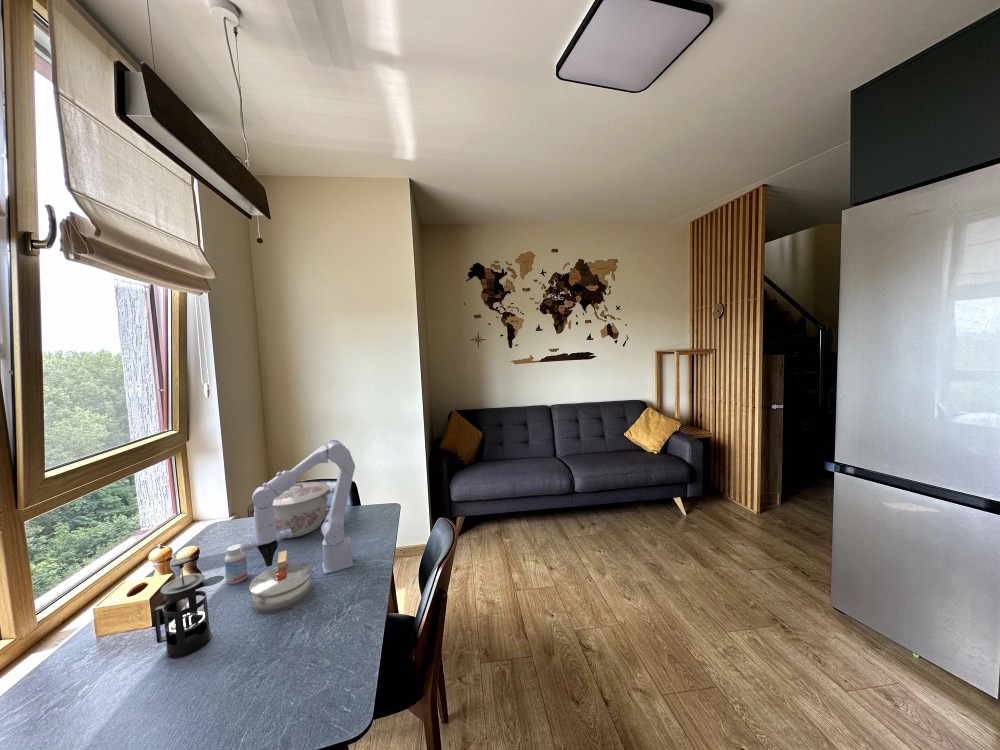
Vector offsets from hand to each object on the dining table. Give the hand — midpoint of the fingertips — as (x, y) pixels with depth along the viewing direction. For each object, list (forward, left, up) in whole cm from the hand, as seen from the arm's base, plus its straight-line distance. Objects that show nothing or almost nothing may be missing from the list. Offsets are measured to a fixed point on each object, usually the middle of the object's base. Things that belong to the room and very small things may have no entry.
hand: (268, 565), depth 127 cm
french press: (+18, +18, -8) cm, 27 cm away
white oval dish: (-4, +5, -7) cm, 10 cm away
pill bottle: (+10, -12, -8) cm, 17 cm away
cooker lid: (-4, +6, -2) cm, 7 cm away
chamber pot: (-9, -42, -8) cm, 43 cm away
